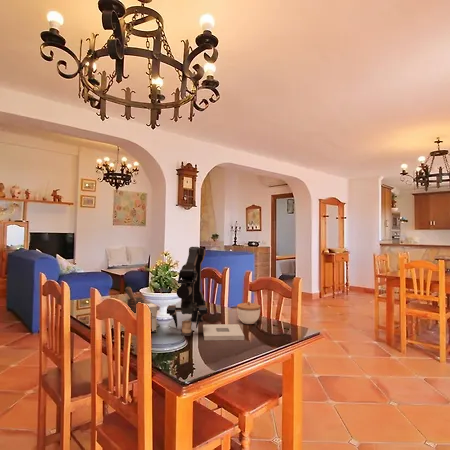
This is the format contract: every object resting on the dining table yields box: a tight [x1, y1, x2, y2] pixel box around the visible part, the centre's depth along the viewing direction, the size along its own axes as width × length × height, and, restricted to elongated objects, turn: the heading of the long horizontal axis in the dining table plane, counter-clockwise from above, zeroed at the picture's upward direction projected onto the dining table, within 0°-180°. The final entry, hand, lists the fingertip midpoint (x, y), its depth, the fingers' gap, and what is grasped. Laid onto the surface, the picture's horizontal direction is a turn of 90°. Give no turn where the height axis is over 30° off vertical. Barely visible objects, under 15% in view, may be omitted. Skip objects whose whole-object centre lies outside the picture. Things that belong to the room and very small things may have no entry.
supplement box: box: [146, 303, 158, 331], centre depth 156 cm, size 7×7×13 cm
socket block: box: [202, 323, 245, 341], centre depth 154 cm, size 18×18×2 cm
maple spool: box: [181, 319, 193, 337], centre depth 152 cm, size 4×4×6 cm
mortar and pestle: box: [124, 286, 145, 313], centre depth 167 cm, size 12×9×20 cm
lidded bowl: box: [236, 301, 261, 325], centre depth 176 cm, size 13×13×11 cm
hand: (186, 328), depth 153 cm, fingers open, 9 cm apart
